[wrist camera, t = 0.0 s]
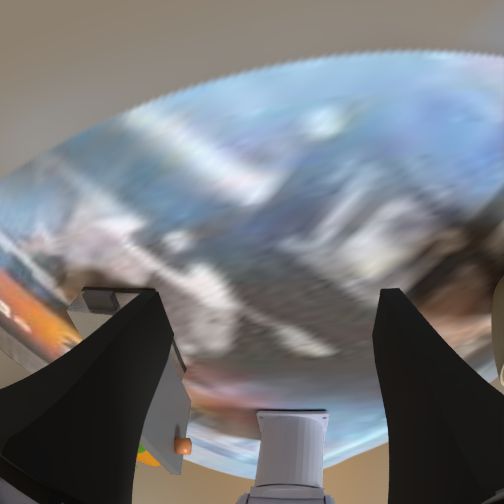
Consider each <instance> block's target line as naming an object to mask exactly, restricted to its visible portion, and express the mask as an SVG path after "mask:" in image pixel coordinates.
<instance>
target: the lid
mask: <svg viewBox="0 0 504 504" xmlns="http://www.w3.org/2000/svg"><path fill="white" fill-rule="evenodd" d="M190 404H191V400H190V398H189V396H188V394H187V392H186V390H185V388H184V386H183V384H182V382H181V380H180V378H179V376H178V373H177V371H176V369H175V367H174V365H173V363H172V360H171V358H170V356H169V357H168V361H167V363H166V366H165V369H164V371H163V374H162V376H161V379H160V381H159V384H158V387H157V389H156V392H155V394H154V397H153V399H152V402H151V404H150V407H149V410H148V413H147V416H146V419H145V422H144V426H143V430H142V434H141V439H140V444H141V445H142V446H143V447H144V448H145V449H146V450H147V451H148V452H149V453H150V454H151V455H152V456H153V457H154V458H155V459H156V460H157V461H158V462H159V463H160V464H161V465H162V466H163V467H164V468H165V469H166V470H167V471H168V472H169V473H170V474H175V475H181V469H182V460H183V455H190V454H191V451H192V443H191V439H190V438H186V431H187V424H188V417H189V411H190Z"/></svg>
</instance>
